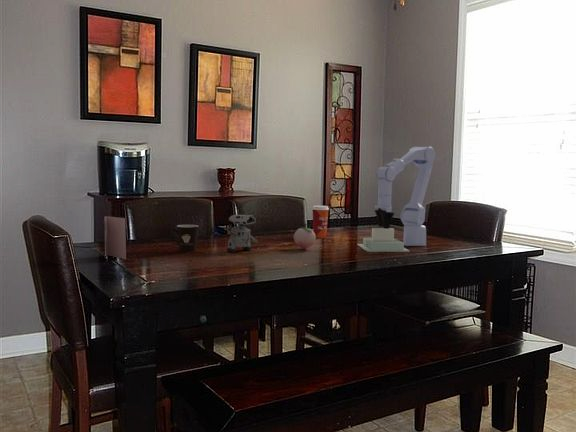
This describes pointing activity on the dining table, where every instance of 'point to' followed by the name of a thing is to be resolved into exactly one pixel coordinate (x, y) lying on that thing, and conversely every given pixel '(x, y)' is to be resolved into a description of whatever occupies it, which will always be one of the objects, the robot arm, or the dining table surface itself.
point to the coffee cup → (320, 221)
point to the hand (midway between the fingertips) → (383, 227)
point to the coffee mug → (186, 237)
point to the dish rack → (383, 246)
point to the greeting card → (115, 237)
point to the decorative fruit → (304, 237)
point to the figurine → (240, 232)
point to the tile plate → (382, 234)
